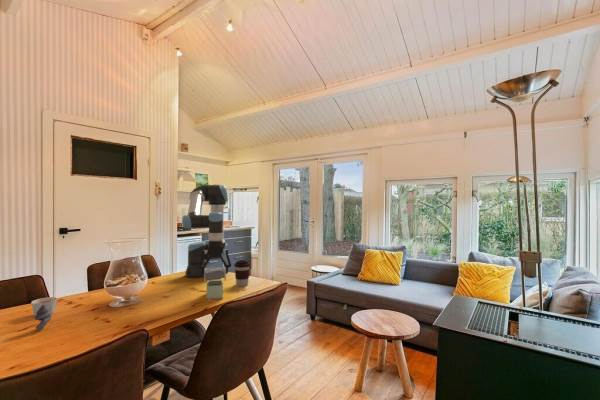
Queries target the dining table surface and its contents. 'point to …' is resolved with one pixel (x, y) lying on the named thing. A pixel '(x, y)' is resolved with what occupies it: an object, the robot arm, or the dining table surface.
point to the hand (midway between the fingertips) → (215, 280)
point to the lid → (215, 273)
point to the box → (214, 289)
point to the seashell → (43, 316)
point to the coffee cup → (242, 272)
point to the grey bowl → (47, 301)
